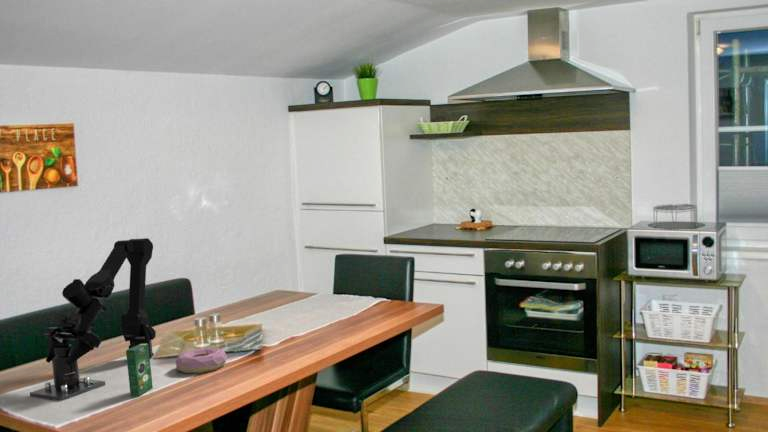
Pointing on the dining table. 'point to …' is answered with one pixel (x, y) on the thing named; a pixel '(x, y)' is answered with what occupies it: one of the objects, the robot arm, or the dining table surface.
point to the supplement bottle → (64, 368)
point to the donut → (201, 360)
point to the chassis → (66, 393)
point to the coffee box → (139, 369)
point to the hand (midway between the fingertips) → (57, 363)
